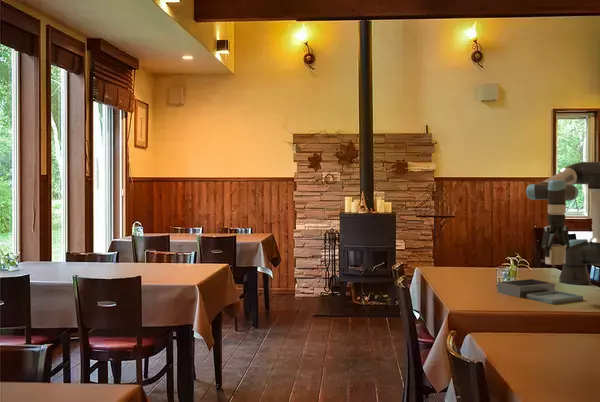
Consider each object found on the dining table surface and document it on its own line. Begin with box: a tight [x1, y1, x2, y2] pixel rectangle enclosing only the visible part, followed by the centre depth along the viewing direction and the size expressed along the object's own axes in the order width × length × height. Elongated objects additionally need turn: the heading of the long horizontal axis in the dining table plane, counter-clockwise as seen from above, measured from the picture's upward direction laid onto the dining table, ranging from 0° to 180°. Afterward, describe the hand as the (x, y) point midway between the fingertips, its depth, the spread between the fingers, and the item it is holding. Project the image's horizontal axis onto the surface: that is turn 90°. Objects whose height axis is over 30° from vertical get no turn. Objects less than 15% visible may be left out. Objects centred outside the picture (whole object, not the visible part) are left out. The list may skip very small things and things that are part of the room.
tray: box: [526, 290, 584, 305], centre depth 261 cm, size 20×14×2 cm
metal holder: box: [496, 278, 556, 298], centre depth 275 cm, size 23×14×5 cm, turn 116°
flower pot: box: [544, 243, 567, 266], centre depth 260 cm, size 9×9×9 cm
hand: (555, 263), depth 260 cm, fingers closed on flower pot, 8 cm apart
